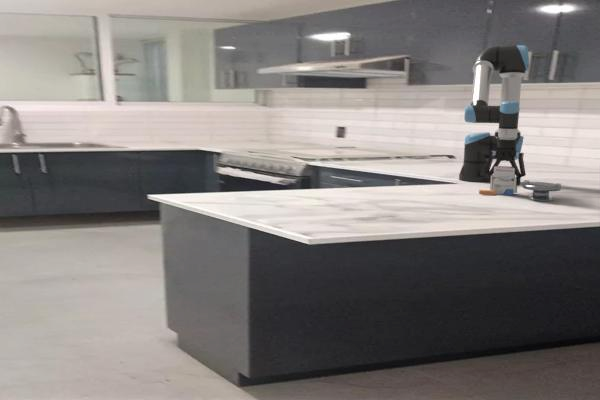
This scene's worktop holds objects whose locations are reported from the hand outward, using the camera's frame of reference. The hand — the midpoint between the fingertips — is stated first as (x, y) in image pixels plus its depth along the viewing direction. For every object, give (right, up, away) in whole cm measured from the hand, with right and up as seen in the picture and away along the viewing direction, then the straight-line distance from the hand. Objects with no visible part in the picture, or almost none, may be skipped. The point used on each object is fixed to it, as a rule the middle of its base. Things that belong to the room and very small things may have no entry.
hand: (503, 191), depth 229 cm
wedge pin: (-8, -2, -1) cm, 8 cm away
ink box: (0, -1, 0) cm, 1 cm away
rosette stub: (+11, -3, -12) cm, 16 cm away
